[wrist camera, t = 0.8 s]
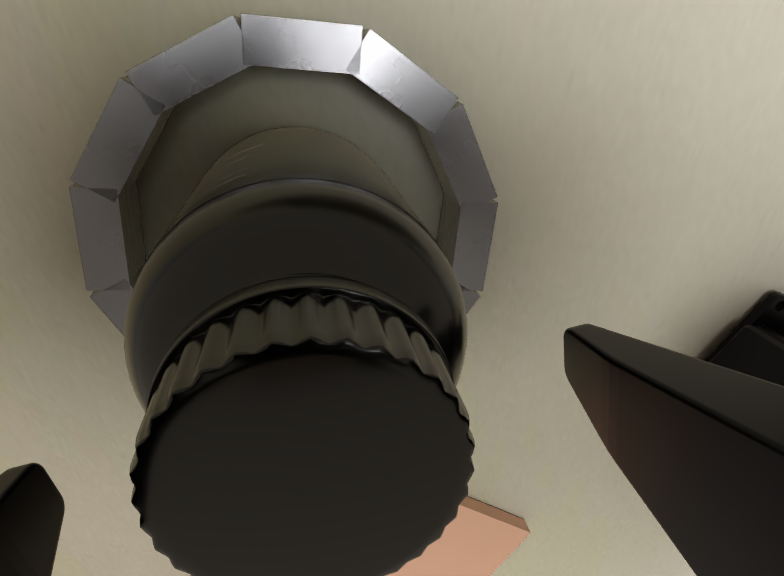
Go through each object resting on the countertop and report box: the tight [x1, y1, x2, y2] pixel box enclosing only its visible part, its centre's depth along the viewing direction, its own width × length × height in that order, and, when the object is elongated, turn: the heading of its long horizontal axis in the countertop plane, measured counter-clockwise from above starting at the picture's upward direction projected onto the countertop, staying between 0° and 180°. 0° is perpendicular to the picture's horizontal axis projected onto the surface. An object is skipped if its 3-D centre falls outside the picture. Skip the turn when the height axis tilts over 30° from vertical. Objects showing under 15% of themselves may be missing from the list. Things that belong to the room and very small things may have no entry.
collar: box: [69, 13, 498, 335], centre depth 17 cm, size 12×12×2 cm
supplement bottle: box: [124, 127, 475, 576], centre depth 13 cm, size 7×7×12 cm
